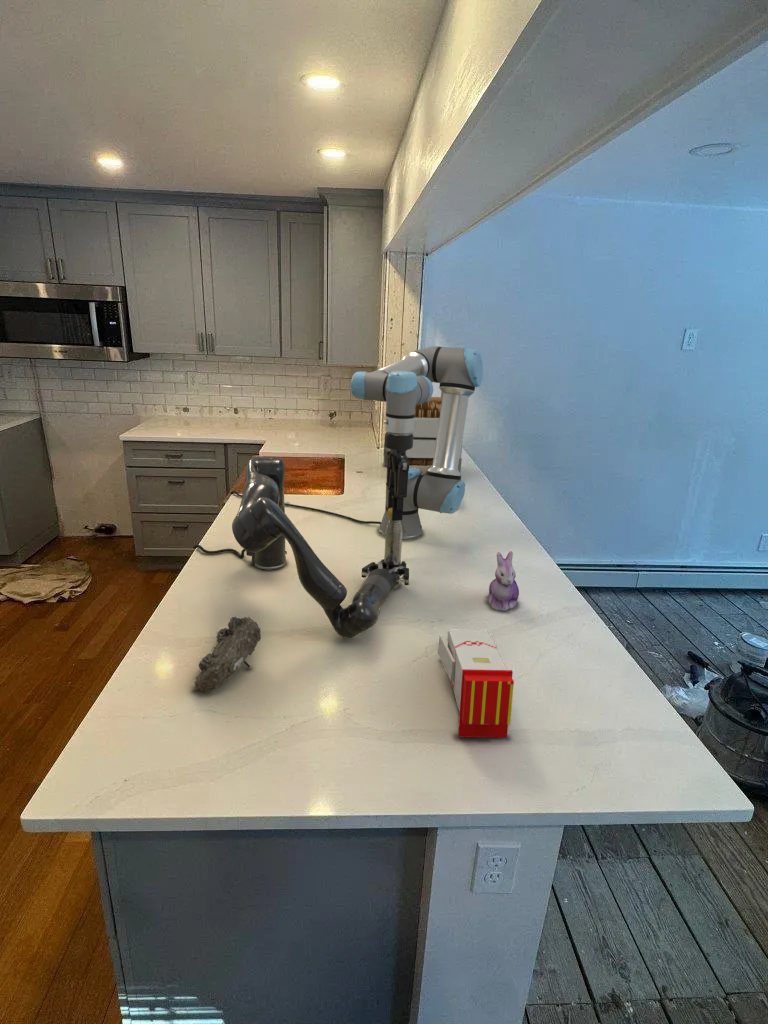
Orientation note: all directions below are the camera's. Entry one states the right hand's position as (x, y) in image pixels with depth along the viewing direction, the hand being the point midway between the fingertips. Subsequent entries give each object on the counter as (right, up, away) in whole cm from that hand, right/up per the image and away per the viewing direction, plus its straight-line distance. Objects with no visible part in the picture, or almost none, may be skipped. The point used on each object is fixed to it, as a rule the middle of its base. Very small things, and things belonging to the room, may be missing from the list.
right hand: (394, 516), depth 155 cm
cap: (0, +2, -1) cm, 2 cm away
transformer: (+14, +20, +120) cm, 122 cm away
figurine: (+30, -24, 0) cm, 38 cm away
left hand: (0, -13, +7) cm, 15 cm away
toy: (+15, -36, -37) cm, 54 cm away
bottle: (-1, -20, +7) cm, 21 cm away
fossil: (-36, -32, -32) cm, 58 cm away
